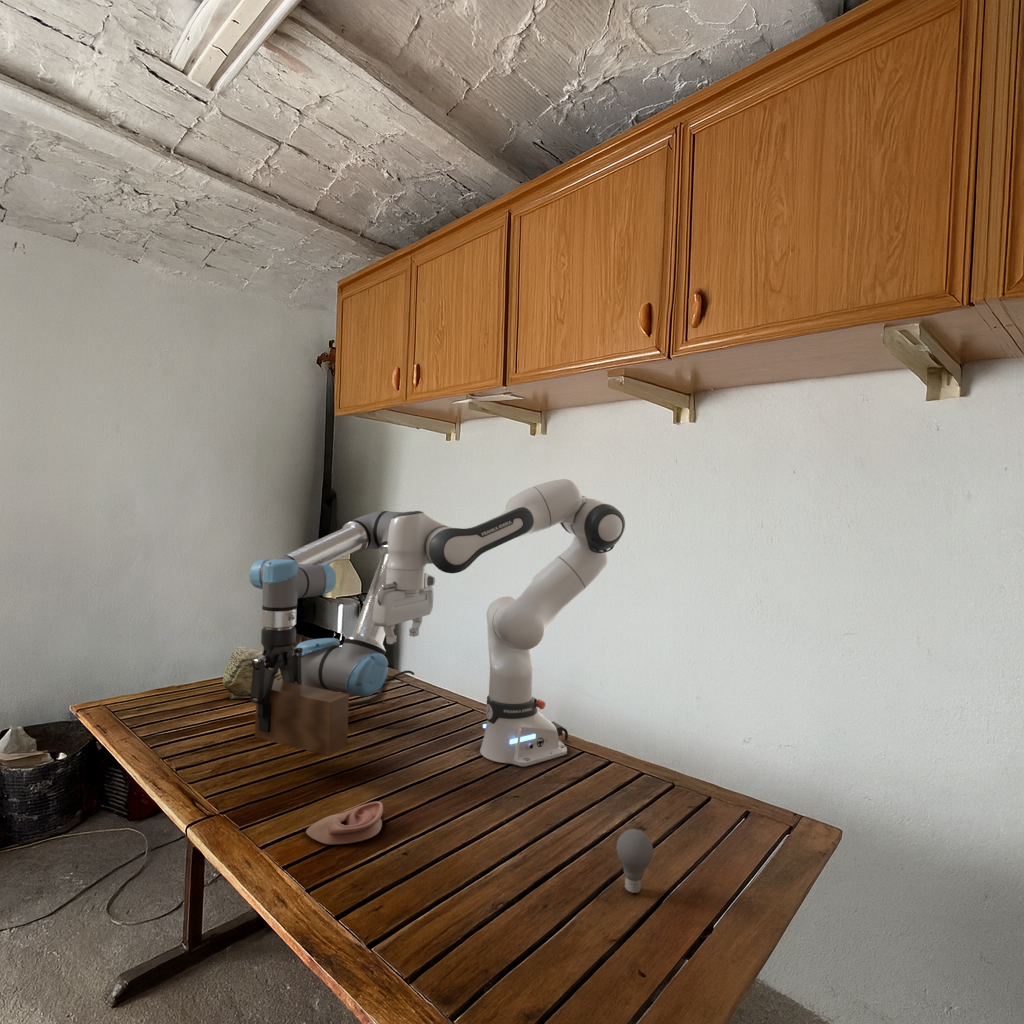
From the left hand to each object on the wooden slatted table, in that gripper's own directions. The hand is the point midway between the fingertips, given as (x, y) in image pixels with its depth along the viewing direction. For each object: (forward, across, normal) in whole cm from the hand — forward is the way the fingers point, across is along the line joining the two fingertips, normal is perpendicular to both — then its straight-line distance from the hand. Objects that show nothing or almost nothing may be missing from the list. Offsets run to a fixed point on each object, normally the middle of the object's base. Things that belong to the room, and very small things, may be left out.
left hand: (275, 726), depth 146 cm
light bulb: (+10, -7, -85) cm, 86 cm away
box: (+2, 0, -7) cm, 8 cm away
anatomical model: (+10, -14, -32) cm, 36 cm away
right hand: (-21, +13, -25) cm, 35 cm away
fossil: (+10, +37, +44) cm, 58 cm away
